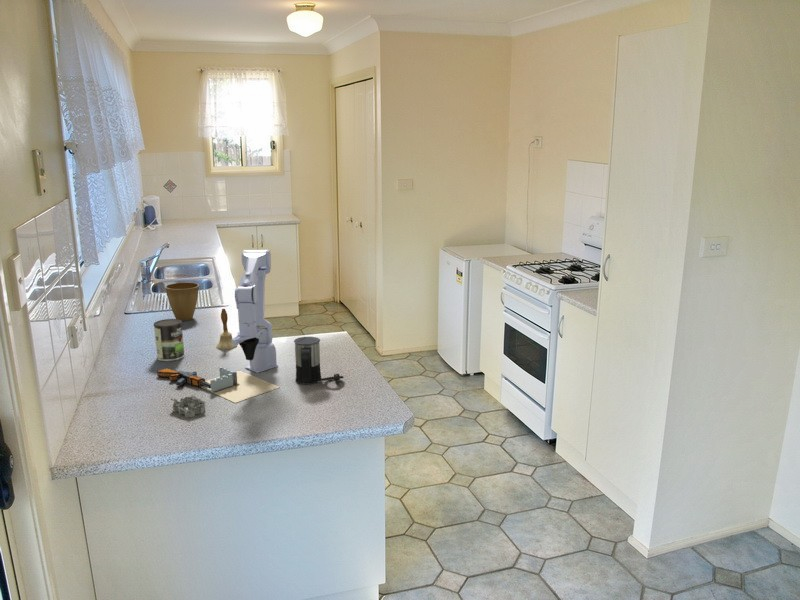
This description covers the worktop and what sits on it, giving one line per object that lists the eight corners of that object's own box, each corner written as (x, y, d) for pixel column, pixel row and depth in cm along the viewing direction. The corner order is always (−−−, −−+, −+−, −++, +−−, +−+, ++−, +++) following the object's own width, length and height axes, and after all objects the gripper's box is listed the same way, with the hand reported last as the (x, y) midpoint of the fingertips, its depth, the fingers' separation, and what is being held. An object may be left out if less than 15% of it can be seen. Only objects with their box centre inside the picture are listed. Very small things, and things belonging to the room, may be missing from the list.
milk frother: (293, 377, 235) (291, 337, 232) (335, 371, 241) (334, 332, 237) (301, 391, 223) (299, 349, 219) (346, 385, 228) (345, 344, 224)
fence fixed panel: (235, 383, 228) (234, 371, 227) (232, 384, 228) (232, 372, 227) (222, 377, 234) (221, 366, 233) (220, 378, 233) (219, 367, 232)
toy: (153, 377, 235) (178, 370, 242) (196, 395, 218) (221, 386, 226) (152, 371, 234) (177, 363, 242) (195, 388, 218) (220, 379, 225)
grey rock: (170, 410, 208) (168, 398, 207) (191, 403, 214) (190, 391, 213) (187, 419, 201) (185, 407, 200) (208, 412, 206) (207, 400, 205)
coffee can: (190, 354, 259) (187, 319, 256) (173, 362, 250) (170, 327, 246) (168, 351, 263) (165, 317, 259) (151, 359, 253) (147, 324, 250)
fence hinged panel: (236, 383, 228) (235, 371, 227) (238, 384, 228) (237, 372, 226) (210, 391, 221) (209, 379, 220) (212, 392, 221) (211, 380, 219)
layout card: (239, 370, 241) (239, 370, 241) (279, 387, 226) (279, 386, 225) (195, 384, 228) (195, 383, 228) (235, 403, 213) (235, 402, 213)
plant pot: (183, 324, 299) (180, 290, 295) (161, 320, 306) (158, 286, 302) (208, 316, 311) (205, 284, 307) (186, 312, 318) (183, 280, 314)
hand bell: (225, 351, 263) (222, 312, 259) (212, 347, 268) (209, 309, 264) (241, 345, 270) (239, 308, 266) (228, 342, 274) (225, 305, 270)
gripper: (252, 314, 229) (254, 351, 232) (223, 325, 216) (226, 364, 220) (268, 317, 225) (270, 354, 229) (240, 328, 213) (242, 367, 216)
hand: (249, 359), depth 224 cm, fingers closed
